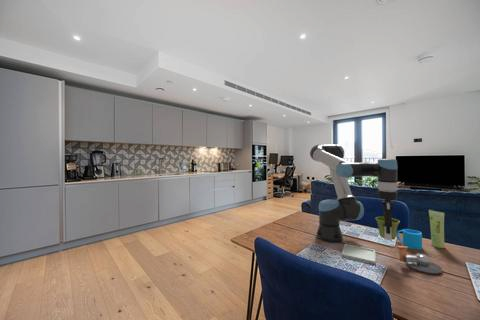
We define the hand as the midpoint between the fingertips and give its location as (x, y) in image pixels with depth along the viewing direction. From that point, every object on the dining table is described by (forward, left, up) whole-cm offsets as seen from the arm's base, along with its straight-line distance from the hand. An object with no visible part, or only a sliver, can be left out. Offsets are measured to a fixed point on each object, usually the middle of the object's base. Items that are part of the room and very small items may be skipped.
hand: (387, 236), depth 94 cm
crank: (+9, -2, -9) cm, 13 cm away
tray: (-12, -2, -11) cm, 17 cm away
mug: (+10, +26, -11) cm, 30 cm away
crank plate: (+12, 0, -11) cm, 17 cm away
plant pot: (0, 0, -1) cm, 1 cm away
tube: (+23, +32, -11) cm, 41 cm away
